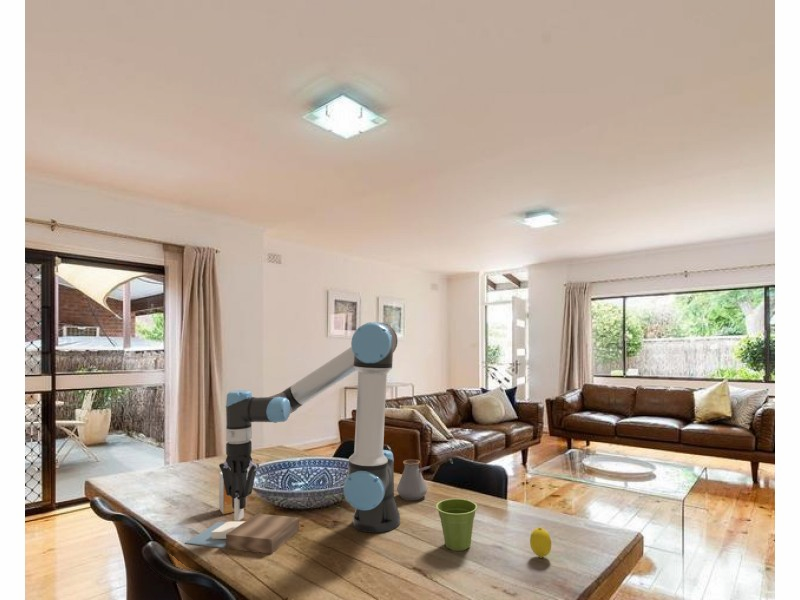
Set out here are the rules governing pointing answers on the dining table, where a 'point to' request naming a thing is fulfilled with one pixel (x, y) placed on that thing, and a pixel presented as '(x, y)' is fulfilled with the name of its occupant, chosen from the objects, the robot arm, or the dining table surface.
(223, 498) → the small box
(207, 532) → the mat
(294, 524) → the riser board
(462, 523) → the plant pot
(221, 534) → the ceramic tile
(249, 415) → the robot arm
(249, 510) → the dining table surface
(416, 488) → the coffee pot
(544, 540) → the lemon
